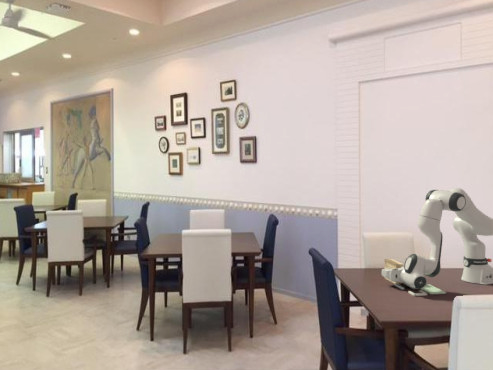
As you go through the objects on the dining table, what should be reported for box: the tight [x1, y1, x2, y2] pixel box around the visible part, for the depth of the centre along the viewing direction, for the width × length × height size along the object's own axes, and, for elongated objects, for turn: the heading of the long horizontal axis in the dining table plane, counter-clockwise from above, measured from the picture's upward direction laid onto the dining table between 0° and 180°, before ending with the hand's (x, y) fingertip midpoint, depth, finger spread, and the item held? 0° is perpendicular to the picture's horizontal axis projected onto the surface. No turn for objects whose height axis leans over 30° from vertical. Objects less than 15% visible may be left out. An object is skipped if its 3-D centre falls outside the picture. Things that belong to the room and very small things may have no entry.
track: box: [393, 283, 416, 291], centre depth 238 cm, size 8×9×1 cm
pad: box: [419, 283, 447, 295], centre depth 232 cm, size 9×16×1 cm, turn 9°
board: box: [384, 258, 404, 285], centre depth 250 cm, size 4×14×12 cm, turn 9°
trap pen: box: [407, 289, 428, 297], centre depth 225 cm, size 8×6×1 cm
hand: (392, 269), depth 251 cm, fingers closed on board, 4 cm apart
